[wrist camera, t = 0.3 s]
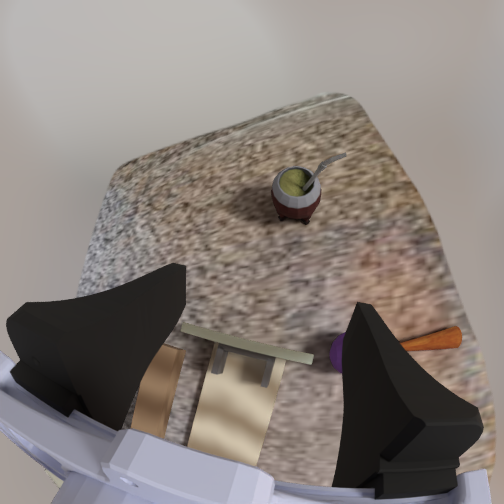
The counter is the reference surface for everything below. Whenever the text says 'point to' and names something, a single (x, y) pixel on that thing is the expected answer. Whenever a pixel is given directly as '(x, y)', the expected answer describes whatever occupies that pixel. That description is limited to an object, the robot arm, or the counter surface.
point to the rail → (158, 391)
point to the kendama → (407, 344)
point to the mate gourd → (298, 191)
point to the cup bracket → (238, 394)
